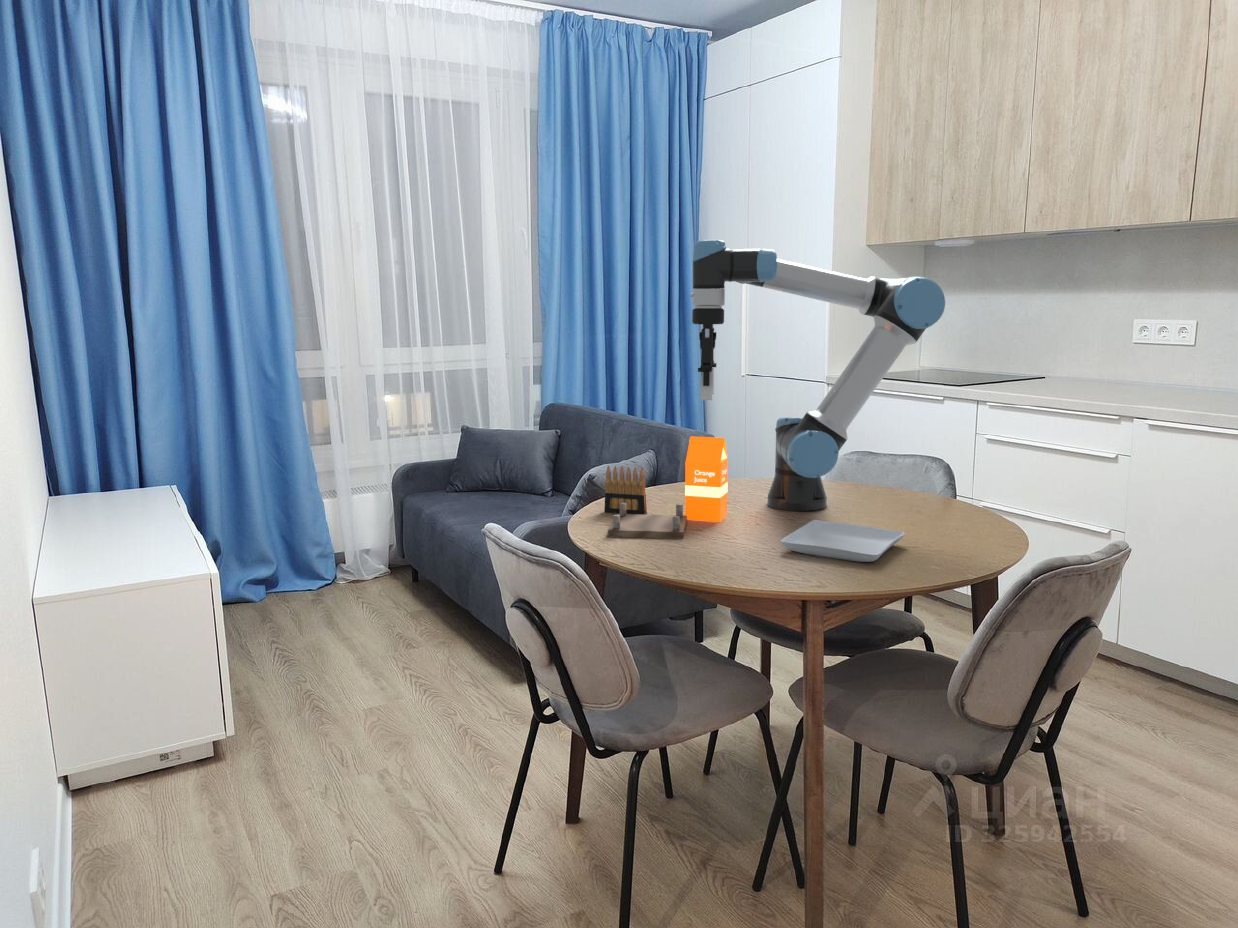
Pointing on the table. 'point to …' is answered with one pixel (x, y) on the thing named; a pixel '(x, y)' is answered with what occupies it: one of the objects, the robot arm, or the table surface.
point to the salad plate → (841, 540)
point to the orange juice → (706, 479)
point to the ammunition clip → (633, 495)
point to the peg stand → (648, 524)
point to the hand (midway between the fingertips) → (707, 397)
